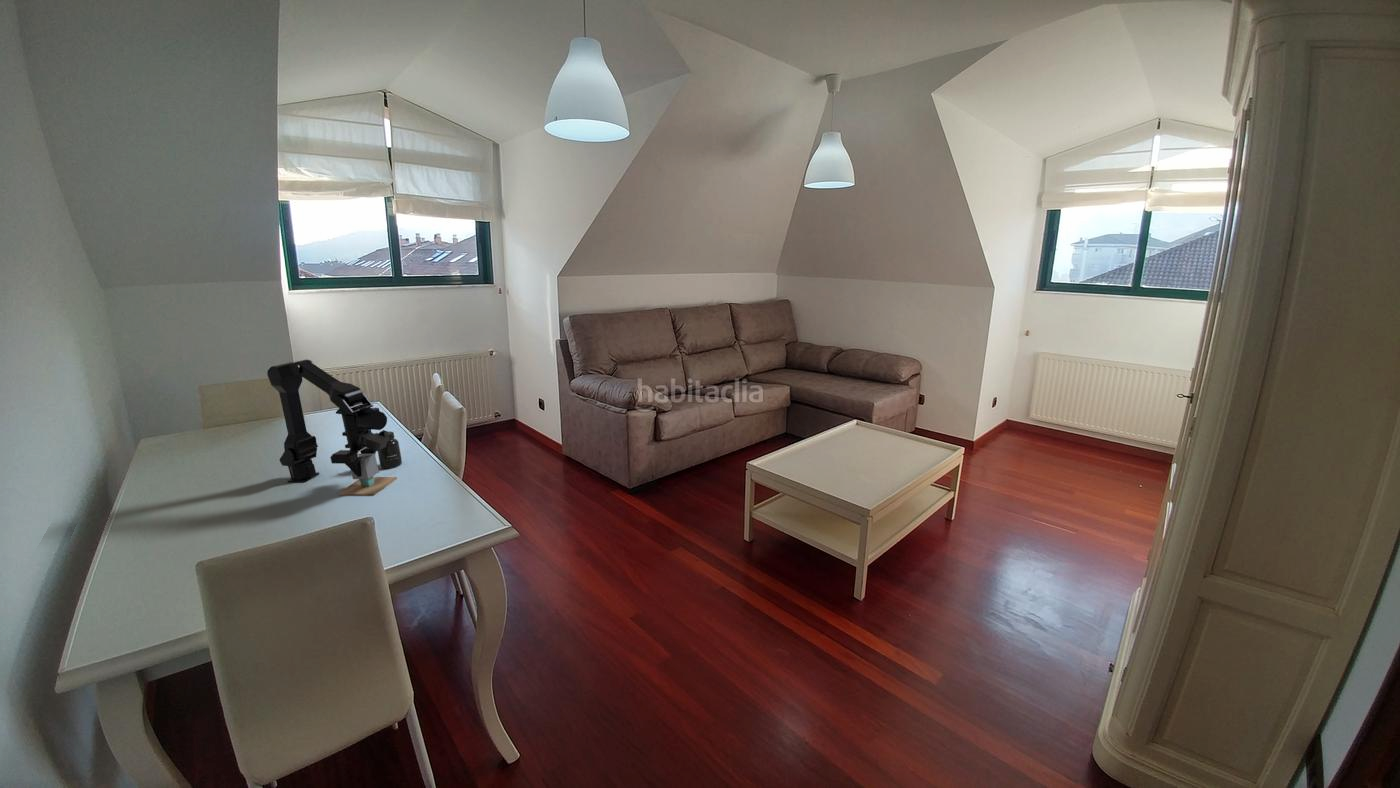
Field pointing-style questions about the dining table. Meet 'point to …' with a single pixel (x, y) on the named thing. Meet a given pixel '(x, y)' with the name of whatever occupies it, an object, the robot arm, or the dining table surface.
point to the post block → (367, 486)
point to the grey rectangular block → (367, 466)
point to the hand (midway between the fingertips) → (365, 472)
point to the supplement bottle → (390, 453)
